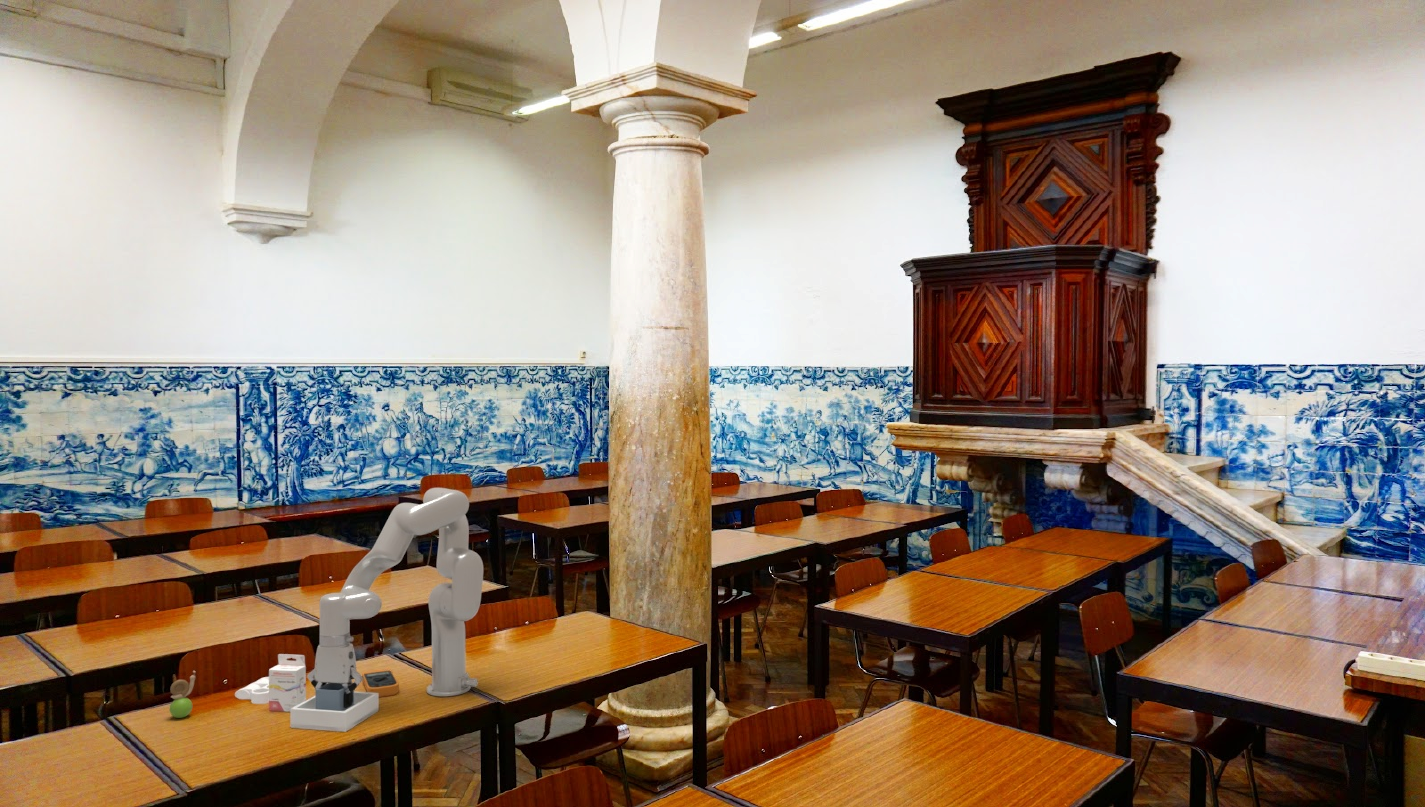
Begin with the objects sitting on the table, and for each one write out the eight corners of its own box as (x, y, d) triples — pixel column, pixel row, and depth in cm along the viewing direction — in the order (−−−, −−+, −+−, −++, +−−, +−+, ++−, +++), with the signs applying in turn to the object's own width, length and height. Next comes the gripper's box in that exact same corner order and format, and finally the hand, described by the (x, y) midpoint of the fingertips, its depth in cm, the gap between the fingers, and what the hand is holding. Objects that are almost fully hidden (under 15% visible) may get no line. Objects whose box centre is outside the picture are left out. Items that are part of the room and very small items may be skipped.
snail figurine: (199, 716, 258) (198, 672, 257) (173, 722, 253) (172, 678, 253) (192, 711, 261) (191, 668, 261) (166, 717, 257) (166, 673, 256)
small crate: (354, 705, 258) (353, 683, 258) (339, 713, 251) (339, 691, 251) (330, 703, 259) (330, 681, 259) (315, 712, 252) (315, 689, 252)
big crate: (378, 710, 261) (378, 693, 261) (345, 731, 246) (345, 712, 246) (326, 707, 264) (326, 689, 264) (290, 727, 249) (290, 708, 249)
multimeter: (368, 700, 271) (368, 688, 271) (361, 682, 287) (361, 671, 287) (400, 695, 275) (399, 684, 275) (391, 678, 291) (391, 667, 291)
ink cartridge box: (268, 711, 261) (267, 658, 261) (278, 705, 266) (277, 653, 266) (297, 712, 260) (296, 659, 260) (306, 706, 265) (306, 654, 265)
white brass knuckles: (265, 683, 286) (310, 685, 285) (227, 704, 269) (275, 705, 267) (265, 672, 286) (310, 674, 285) (227, 692, 269) (275, 694, 267)
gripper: (371, 638, 257) (372, 703, 257) (314, 634, 260) (314, 699, 260) (356, 645, 249) (356, 712, 250) (297, 642, 253) (297, 708, 253)
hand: (335, 705), depth 255 cm, fingers closed on small crate, 7 cm apart
